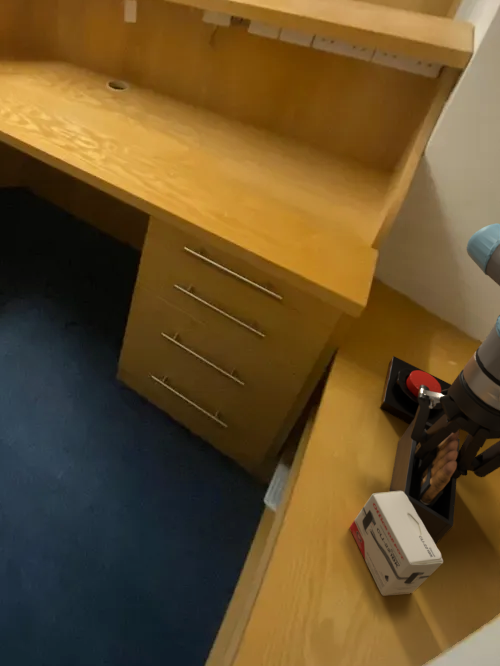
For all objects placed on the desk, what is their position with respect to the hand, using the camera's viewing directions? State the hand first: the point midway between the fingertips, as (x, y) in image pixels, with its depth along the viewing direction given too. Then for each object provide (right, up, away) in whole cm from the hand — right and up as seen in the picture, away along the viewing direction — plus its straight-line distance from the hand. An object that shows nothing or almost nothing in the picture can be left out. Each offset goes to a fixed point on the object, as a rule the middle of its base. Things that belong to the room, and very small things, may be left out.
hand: (427, 474), depth 81 cm
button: (+10, +6, +15) cm, 19 cm away
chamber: (0, -5, +3) cm, 6 cm away
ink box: (-11, -10, -4) cm, 15 cm away
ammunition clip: (0, 0, 0) cm, 1 cm away
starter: (+10, +3, +16) cm, 19 cm away
